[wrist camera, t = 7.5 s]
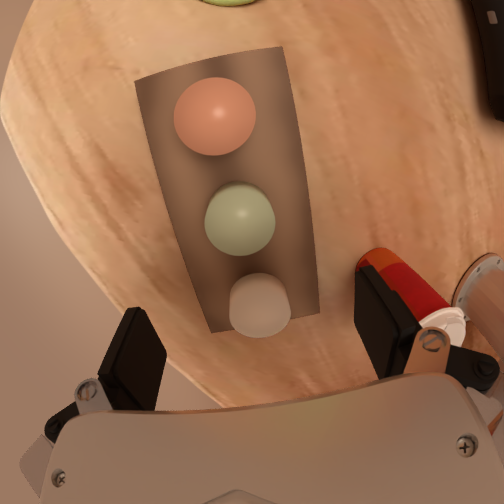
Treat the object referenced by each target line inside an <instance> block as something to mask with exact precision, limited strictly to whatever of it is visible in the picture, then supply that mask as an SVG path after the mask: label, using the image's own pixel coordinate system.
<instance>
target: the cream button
mask: <svg viewBox="0 0 504 504" xmlns="http://www.w3.org/2000/svg"><path fill="white" fill-rule="evenodd" d="M290 317H291V309H290V305H289V302H288V298H287V294H286V290H285V287H284V285H283V284H282V282H281V281H280V280H279V279H278V278H276V277H274V276H272V275H270V274H266V273H253V274H249V275H246V276H244V277H242V278H241V279H239V280H238V281H237V282H236V283H235V284H234V285H233V287H232V289H231V292H230V309H229V318H230V322H231V325H232V326H233V328H234V329H235V330H236V331H237V332H239V333H240V334H242V335H244V336H247V337H251V338H265V337H269V336H272V335H275V334H277V333H278V332H280V331H281V330H283V329H284V328H285V327H286V325H287V324H288V322H289V320H290Z"/></svg>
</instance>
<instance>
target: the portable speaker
mask: <svg viewBox="0 0 504 504" xmlns="http://www.w3.org/2000/svg"><path fill="white" fill-rule="evenodd" d="M471 2H472V5H473V9H474V12H475V16H476V20H477V24H478V28H479V32H480V37H481V42H482V47H483V52H484V59H485V65H486V73H487V82H488V95H489V101H490V104H491V107H492V110H493V113H494V116H495V119H497V120H499V121H502V122H504V0H471Z"/></svg>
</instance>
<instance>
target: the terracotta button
mask: <svg viewBox="0 0 504 504" xmlns="http://www.w3.org/2000/svg"><path fill="white" fill-rule="evenodd" d="M255 121H256V110H255V105H254V102H253V100H252V98H251V96H250V94H249V93H248V92H247V91H246V89H244V88H243V87H242V86H241V85H239V84H238V83H236V82H234V81H232V80H229V79H226V78H219V77H214V78H206V79H203V80H200V81H198V82H196V83H194V84H192V85H191V86H189V87H188V88H187V89H186V90H185V91H184V92H183V93H182V95H181V96H180V97H179V99H178V101H177V103H176V106H175V110H174V126H175V129H176V132H177V134H178V136H179V138H180V139H181V141H182V142H183V143H184V144H185V145H186V146H187V147H189V148H190V149H192V150H193V151H195V152H198V153H200V154H204V155H212V156H214V155H223V154H226V153H229V152H232V151H234V150H235V149H237V148H239V147H240V146H241V145H242V144H243V143H244V142H246V140H247V139H248V138H249V136H250V135H251V133H252V131H253V129H254V125H255Z"/></svg>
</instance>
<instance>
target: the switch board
mask: <svg viewBox="0 0 504 504" xmlns="http://www.w3.org/2000/svg"><path fill="white" fill-rule="evenodd" d="M214 77H219V78H226V79H229V80H232V81H234V82H236V83H238V84H239V85H241V86H242V87H243V88H244V89H246V91H247V92H248V93H249V94H250V96H251V98H252V100H253V102H254V105H255V110H256V121H255V125H254V129H253V131H252V133H251V135H250V136H249V138H248V139H247V140H246V142H244V143H243V144H242V145H241V146H240V147H239V148H237V149H235V150H234V151H232V152H229V153H226V154H223V155H214V156H212V155H204V154H200V153H198V152H195V151H193V150H192V149H190V148H189V147H187V146H186V145H185V144H184V143H183V142H182V141H181V139H180V138H179V136H178V134H177V132H176V129H175V126H174V110H175V106H176V103H177V101H178V99H179V97H180V96H181V95H182V93H183V92H184V91H185V90H186V89H187V88H188V87H189V86H191V85H192V84H194V83H196V82H198V81H200V80H203V79H206V78H214ZM134 83H135V87H136V92H137V97H138V101H139V106H140V110H141V114H142V118H143V123H144V127H145V131H146V135H147V139H148V143H149V146H150V150H151V154H152V158H153V161H154V165H155V169H156V172H157V176H158V179H159V183H160V186H161V190H162V193H163V196H164V200H165V203H166V206H167V210H168V213H169V216H170V219H171V222H172V225H173V229H174V232H175V235H176V238H177V241H178V244H179V247H180V250H181V253H182V256H183V259H184V261H185V264H186V267H187V270H188V273H189V276H190V278H191V281H192V284H193V287H194V289H195V292H196V295H197V297H198V300H199V303H200V305H201V308H202V311H203V313H204V316H205V318H206V321H207V324H208V326H209V329H210V331H211V333H216V332H222V331H228V330H235V329H234V328H233V326H232V325H231V322H230V318H229V309H230V292H231V289H232V287H233V285H234V284H235V283H236V282H237V281H238V280H239V279H241V278H242V277H244V276H246V275H249V274H253V273H266V274H270V275H272V276H274V277H276V278H278V279H279V280H280V281H281V282H282V284H283V285H284V287H285V290H286V294H287V298H288V302H289V305H290V309H291V317H290V319H294V318H299V317H304V316H308V315H313V314H318V313H320V307H319V292H318V278H317V266H316V255H315V245H314V235H313V226H312V217H311V208H310V200H309V193H308V185H307V178H306V171H305V164H304V157H303V151H302V145H301V138H300V132H299V127H298V121H297V115H296V110H295V104H294V99H293V94H292V89H291V84H290V79H289V74H288V70H287V65H286V61H285V56H284V52H283V48H282V47H273V48H265V49H257V50H251V51H245V52H239V53H233V54H228V55H223V56H218V57H214V58H209V59H205V60H201V61H197V62H193V63H189V64H186V65H182V66H178V67H175V68H172V69H168V70H165V71H162V72H159V73H156V74H153V75H150V76H147V77H144V78H142V79H139V80H136V81H134ZM235 181H244V182H249V183H252V184H254V185H256V186H258V187H259V188H260V189H262V190H263V191H264V193H265V194H266V195H267V197H268V199H269V202H270V204H271V207H272V210H273V212H274V216H275V230H274V233H273V236H272V238H271V239H270V241H269V242H268V243H267V245H266V246H264V247H263V248H262V249H261V250H259V251H257V252H255V253H253V254H250V255H245V256H234V255H229V254H227V253H224V252H222V251H220V250H219V249H217V248H216V247H215V246H214V245H213V244H212V243H211V241H210V240H209V238H208V236H207V234H206V231H205V224H204V223H205V216H206V212H207V209H208V205H209V202H210V199H211V198H212V196H213V194H214V193H215V192H216V191H217V190H218V189H219V188H220V187H222V186H223V185H225V184H228V183H231V182H235Z"/></svg>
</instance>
